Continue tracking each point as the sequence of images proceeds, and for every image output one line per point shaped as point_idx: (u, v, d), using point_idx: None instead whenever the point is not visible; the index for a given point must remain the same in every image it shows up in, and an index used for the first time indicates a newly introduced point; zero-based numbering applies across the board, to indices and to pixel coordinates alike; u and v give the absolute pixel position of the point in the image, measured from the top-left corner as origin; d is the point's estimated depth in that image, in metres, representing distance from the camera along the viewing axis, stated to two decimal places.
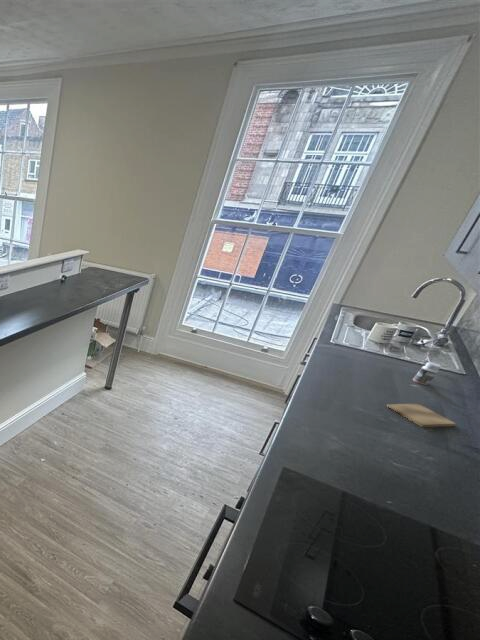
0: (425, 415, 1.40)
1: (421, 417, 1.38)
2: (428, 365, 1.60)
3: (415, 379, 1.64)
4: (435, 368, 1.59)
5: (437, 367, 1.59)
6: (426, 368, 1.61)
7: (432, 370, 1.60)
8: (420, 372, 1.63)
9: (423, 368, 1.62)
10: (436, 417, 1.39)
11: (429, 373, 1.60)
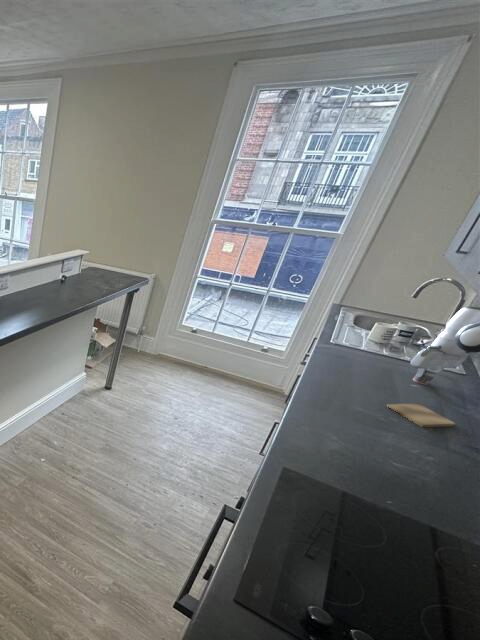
0: (425, 415, 1.40)
1: (421, 417, 1.38)
2: None
3: (415, 379, 1.64)
4: (435, 368, 1.59)
5: (437, 367, 1.59)
6: None
7: (432, 370, 1.60)
8: None
9: None
10: (436, 417, 1.39)
11: (429, 373, 1.60)
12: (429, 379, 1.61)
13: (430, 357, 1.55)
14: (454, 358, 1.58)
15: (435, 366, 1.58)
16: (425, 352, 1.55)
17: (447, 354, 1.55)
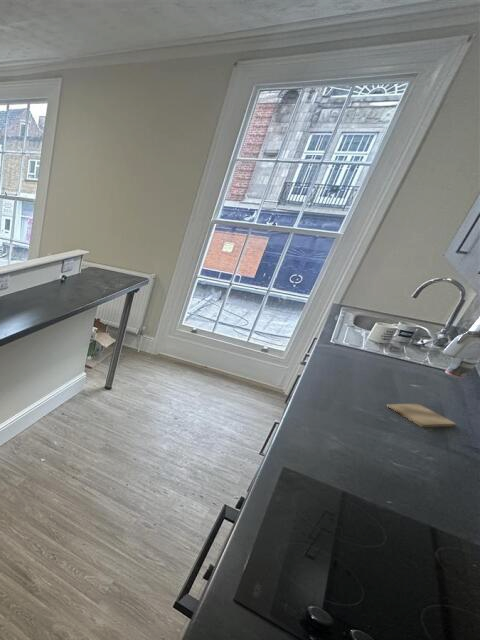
0: (425, 415, 1.40)
1: (421, 417, 1.38)
2: None
3: (448, 371, 1.38)
4: (473, 358, 1.33)
5: (476, 357, 1.32)
6: None
7: (470, 361, 1.33)
8: None
9: None
10: (436, 417, 1.39)
11: (466, 365, 1.34)
12: (465, 371, 1.35)
13: (468, 344, 1.29)
14: None
15: (474, 356, 1.32)
16: (463, 338, 1.29)
17: None
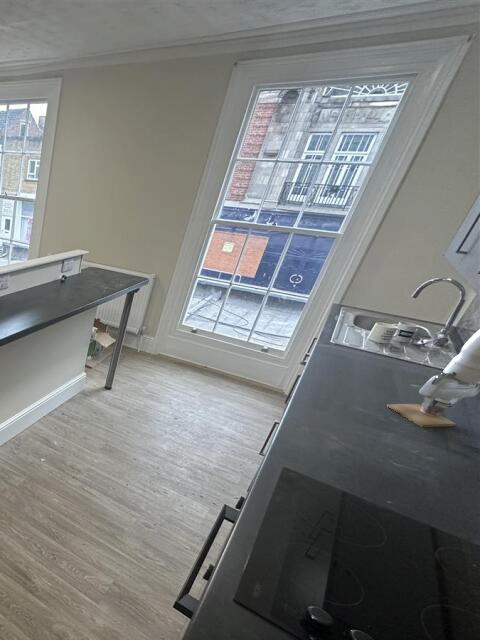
0: (425, 415, 1.40)
1: (421, 417, 1.38)
2: None
3: (423, 410, 1.41)
4: (447, 399, 1.36)
5: None
6: (436, 398, 1.38)
7: (444, 401, 1.36)
8: None
9: None
10: (436, 417, 1.39)
11: (440, 404, 1.37)
12: (440, 411, 1.38)
13: (443, 386, 1.32)
14: (471, 386, 1.34)
15: (448, 396, 1.35)
16: (437, 380, 1.32)
17: (463, 382, 1.31)
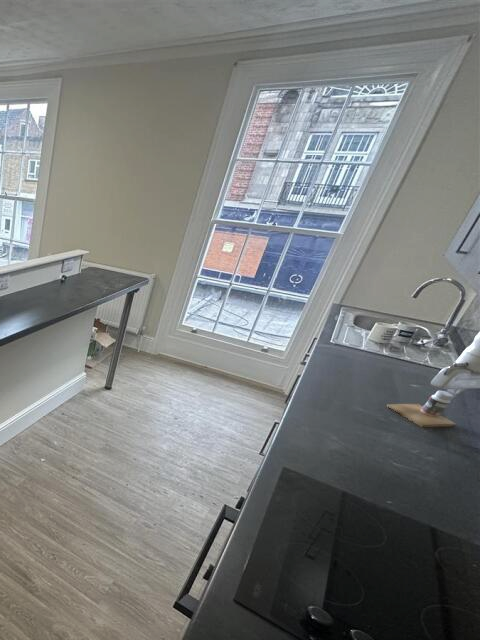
0: (425, 415, 1.40)
1: (421, 417, 1.38)
2: (438, 394, 1.37)
3: (423, 410, 1.41)
4: (446, 399, 1.36)
5: (449, 397, 1.35)
6: (436, 398, 1.38)
7: (443, 401, 1.36)
8: (429, 402, 1.40)
9: (432, 398, 1.39)
10: (436, 417, 1.39)
11: (440, 404, 1.37)
12: (440, 410, 1.38)
13: (455, 376, 1.31)
14: None
15: (461, 386, 1.34)
16: (449, 370, 1.31)
17: (476, 373, 1.30)
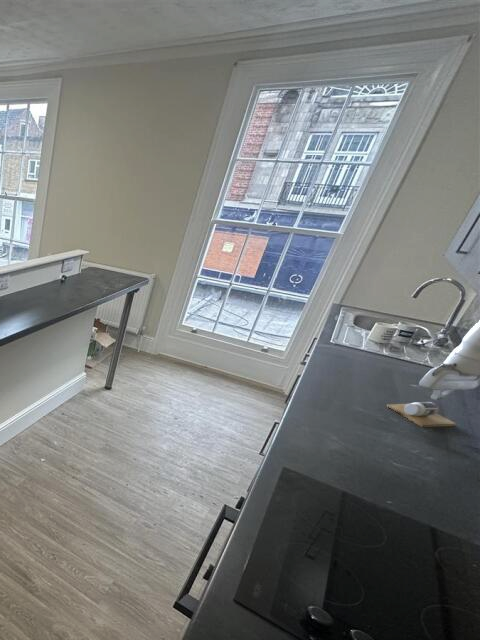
0: None
1: (421, 417, 1.38)
2: None
3: None
4: (415, 414, 1.38)
5: (415, 414, 1.37)
6: None
7: (416, 415, 1.38)
8: None
9: None
10: (436, 417, 1.39)
11: (419, 415, 1.38)
12: (429, 414, 1.38)
13: (443, 377, 1.30)
14: (471, 378, 1.32)
15: (449, 387, 1.33)
16: (437, 371, 1.30)
17: (463, 374, 1.29)
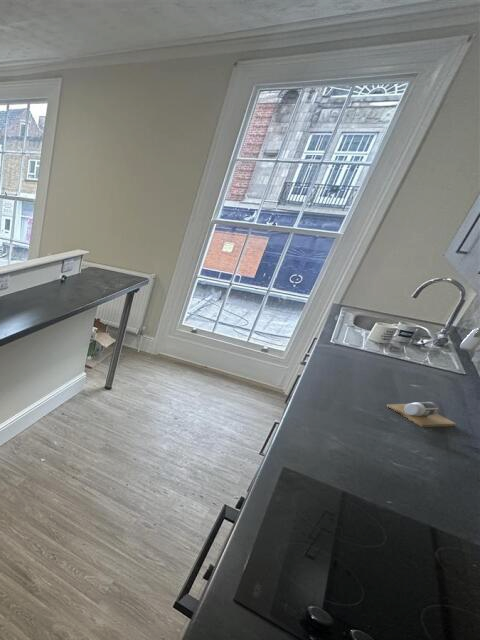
0: None
1: (421, 417, 1.38)
2: None
3: None
4: (415, 414, 1.38)
5: (415, 414, 1.37)
6: None
7: (416, 415, 1.38)
8: None
9: None
10: (436, 417, 1.39)
11: (419, 415, 1.38)
12: (429, 414, 1.38)
13: None
14: None
15: None
16: None
17: None
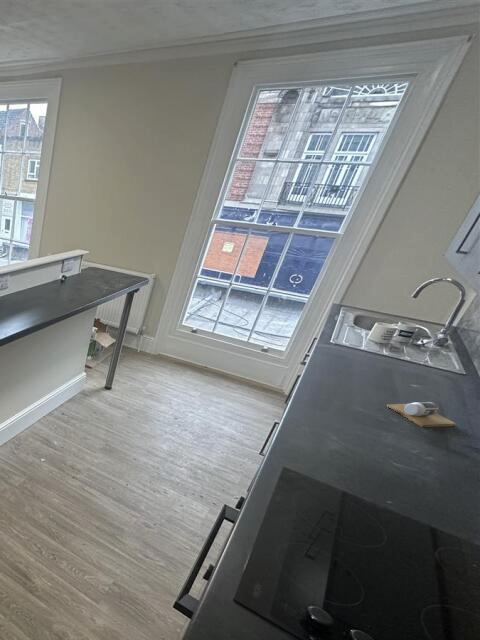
0: None
1: (421, 417, 1.38)
2: None
3: None
4: (415, 414, 1.38)
5: (415, 414, 1.37)
6: None
7: (416, 415, 1.38)
8: None
9: None
10: (436, 417, 1.39)
11: (419, 415, 1.38)
12: (429, 414, 1.38)
13: None
14: None
15: None
16: None
17: None
